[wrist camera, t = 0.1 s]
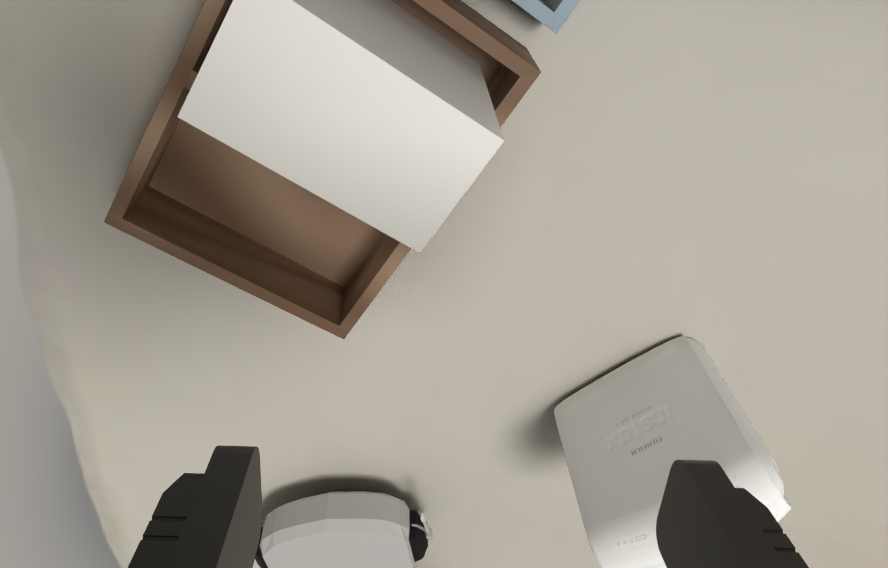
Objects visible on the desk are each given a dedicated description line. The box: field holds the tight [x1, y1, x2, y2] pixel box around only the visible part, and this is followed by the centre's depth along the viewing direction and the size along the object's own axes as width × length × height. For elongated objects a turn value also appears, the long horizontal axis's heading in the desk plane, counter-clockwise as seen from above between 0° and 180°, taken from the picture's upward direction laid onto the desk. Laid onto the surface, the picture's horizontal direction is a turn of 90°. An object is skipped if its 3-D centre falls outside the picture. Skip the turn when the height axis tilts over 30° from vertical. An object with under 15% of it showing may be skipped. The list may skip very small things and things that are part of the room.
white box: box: [178, 0, 504, 253], centre depth 25 cm, size 5×9×10 cm, turn 56°
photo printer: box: [554, 336, 791, 568], centre depth 36 cm, size 10×4×12 cm, turn 127°
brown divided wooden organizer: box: [104, 0, 541, 339], centre depth 30 cm, size 16×12×4 cm
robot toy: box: [255, 491, 433, 568], centre depth 47 cm, size 12×4×15 cm
